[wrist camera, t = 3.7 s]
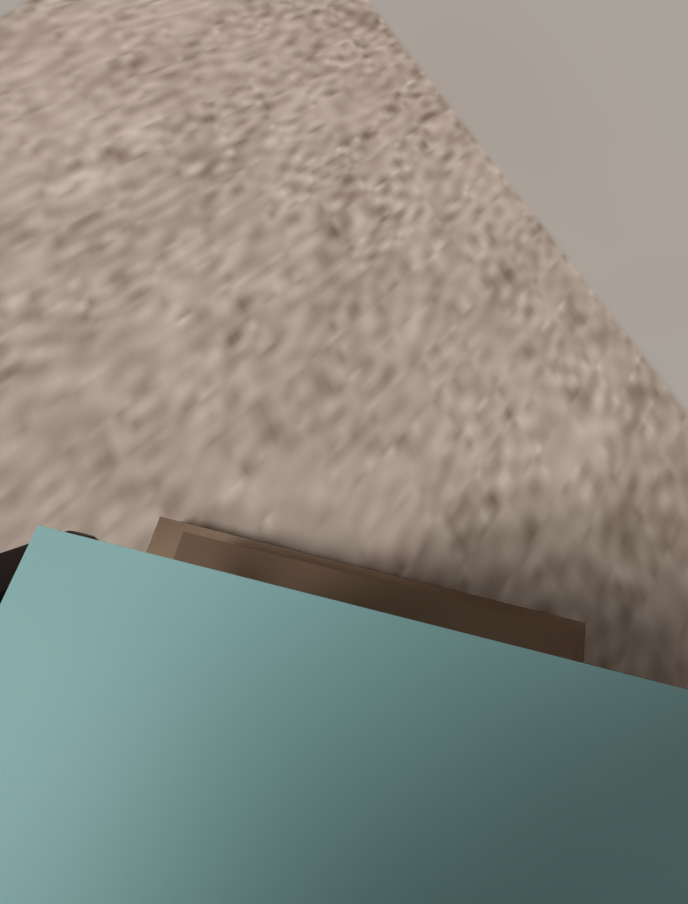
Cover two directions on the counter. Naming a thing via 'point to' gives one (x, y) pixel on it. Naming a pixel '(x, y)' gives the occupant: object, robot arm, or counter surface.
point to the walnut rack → (369, 589)
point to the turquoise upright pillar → (313, 750)
